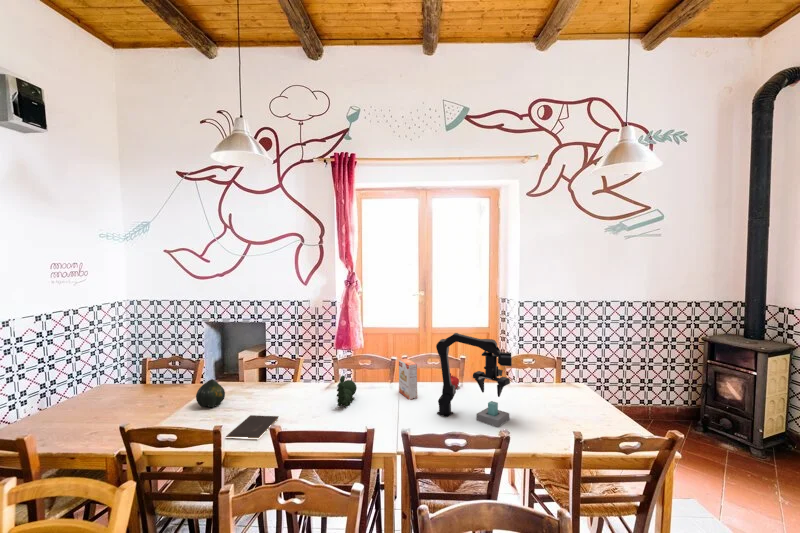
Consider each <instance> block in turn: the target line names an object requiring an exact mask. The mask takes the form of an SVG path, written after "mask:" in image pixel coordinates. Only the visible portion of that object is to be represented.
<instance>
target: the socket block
mask: <svg viewBox="0 0 800 533" xmlns="http://www.w3.org/2000/svg"><path fill="white" fill-rule="evenodd" d="M475 416H476V418H475V419H476V421H477V422H480V423H483V424H485V425H486V424H487V425H488V426H492V427H495V428H499V427H501V426H502V425H504V424H505V423H506V422H508V421H510V413H509V412H507V411H504V410H500V409H498V415H497V416H492V415H488V407H485V409H484V408H483V409H482V410H481V411H479V412H477V413H476V415H475Z"/></svg>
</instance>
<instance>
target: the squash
mask: <svg viewBox="0 0 800 533" xmlns="http://www.w3.org/2000/svg"><path fill="white" fill-rule="evenodd" d="M225 397H226V391H225V389H224V387H223V386H222V385H220V384H219V383H218V382H217V381H216V379H213V378H211V379H209V380H208V381H206V382H205V383H204V384H202V385H201V386H200V387H199V389H198V390H197V392H196V394H195V399H196V402H197V404H198V405H199V406H200V407H208V408H210V407H212V408H214V407H216V406H215V405H218V406H219V405H220V404H222V402H223V401H224V400H225ZM213 406H214V407H213Z"/></svg>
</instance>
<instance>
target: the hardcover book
mask: <svg viewBox="0 0 800 533" xmlns="http://www.w3.org/2000/svg"><path fill="white" fill-rule="evenodd" d="M279 417H280V416H279V415H257V414H256V415H253V414H252V415H249V416H248V417H246V418H245V419H244V420H243V421H242V422H240V423H239V424H238V425H236V427H235V428H234V429H232V431H230V432H229V433H228V434H226V436H225V438H226V437H248V438H259V437H260V436H261V435H262V434H263V433H264V432H265V431H266V430H267V429H268V431H269V430H270V428H269V426H270V425H272V426H274V425H275V423H276V422H277V421H278V420H279ZM277 419H278V420H277ZM275 421H276V422H275Z"/></svg>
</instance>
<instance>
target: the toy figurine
mask: <svg viewBox="0 0 800 533" xmlns="http://www.w3.org/2000/svg"><path fill="white" fill-rule="evenodd" d="M345 379H346V377H345V375H341V376H340V378H339V383H338V384H337V385H336V387H337V389H336V392H337V393H336V397H337V400H336V402H337V406H338V407H341V406H342V405H344V407H348V406H350V405H351V403H352V402H353V401H354V398H353V397H354V395H355V394H356V392H357V384H356V383H355V381H353V380H352V379H347V380H345ZM341 404H342V405H341Z"/></svg>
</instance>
